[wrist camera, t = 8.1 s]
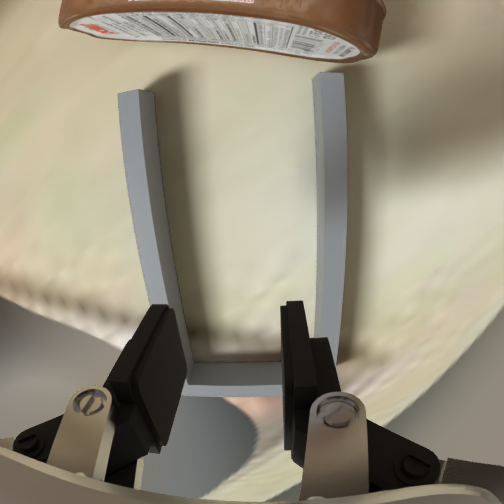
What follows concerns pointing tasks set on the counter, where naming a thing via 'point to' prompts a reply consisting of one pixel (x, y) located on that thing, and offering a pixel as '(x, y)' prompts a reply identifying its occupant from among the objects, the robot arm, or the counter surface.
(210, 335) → the counter surface
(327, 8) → the tin
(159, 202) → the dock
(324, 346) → the robot arm
